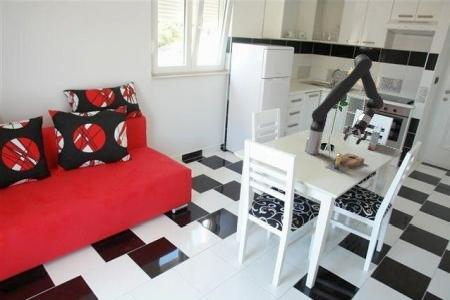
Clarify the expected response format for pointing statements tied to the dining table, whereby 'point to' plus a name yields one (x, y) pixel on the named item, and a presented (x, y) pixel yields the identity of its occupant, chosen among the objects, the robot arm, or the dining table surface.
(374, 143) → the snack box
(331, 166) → the rubber mat
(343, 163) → the brown flat lump
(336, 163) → the brass pin
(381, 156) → the dining table surface
